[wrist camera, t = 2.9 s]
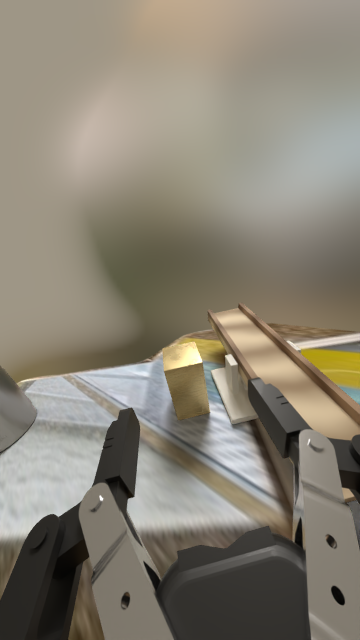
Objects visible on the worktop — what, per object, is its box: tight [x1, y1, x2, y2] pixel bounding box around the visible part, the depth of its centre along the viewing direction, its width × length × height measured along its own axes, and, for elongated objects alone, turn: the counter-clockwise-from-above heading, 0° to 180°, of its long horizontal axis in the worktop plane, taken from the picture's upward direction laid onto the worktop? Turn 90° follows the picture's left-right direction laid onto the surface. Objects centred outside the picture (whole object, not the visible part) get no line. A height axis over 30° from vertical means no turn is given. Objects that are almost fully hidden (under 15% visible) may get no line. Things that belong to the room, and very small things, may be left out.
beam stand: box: [211, 341, 301, 424], centre depth 27 cm, size 10×14×7 cm
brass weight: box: [163, 342, 210, 420], centre depth 26 cm, size 5×5×10 cm
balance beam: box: [208, 303, 360, 503], centre depth 26 cm, size 30×8×3 cm, turn 8°
